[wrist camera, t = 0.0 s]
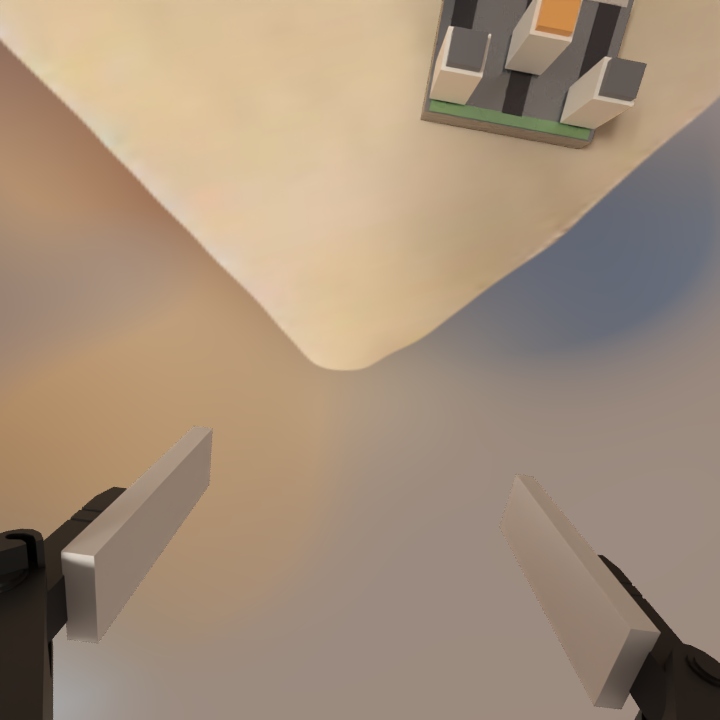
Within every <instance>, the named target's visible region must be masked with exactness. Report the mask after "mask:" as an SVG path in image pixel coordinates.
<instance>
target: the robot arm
mask: <svg viewBox="0 0 720 720" xmlns="http://www.w3.org/2000/svg"><path fill="white" fill-rule="evenodd" d="M211 447H212V428H206V427H199V426H194V427H192V428H191V429H190V430H189V431H188V432H187V433H186V434H185V435H184V436H183V437H182V438H181V439H180V440H179V441H177V442H176V443H175V444H174V445H173V446H172V447H171V448H170V449H169V450H168V451H167V452H166V453H165V454H164V455H163V456H162V457H161V458H160V459H158V460H157V461H156V462H155V463H154V464H153V465H152V466H151V467H150V468H149V469H148V470H147V471H146V472H145V473H144V474H143V475H141V476H140V477H139V478H138V479H137V480H136V481H135V482H134V483H133V484H132V485H131V486H130V487H129V488H128V489H126V488H118V487H113V488H111V489H109V490H107V491H105V492H103V493H101V494H99V495H97V496H95V497H94V498H93V499H92V500H91V501H89V502H88V503H87V504H86V505H85V506H84V507H82V510H79V511H78V512H77V513H75V514H74V515H73V516H72V517H71V519H70V520H67V521H66V522H65V523H64V524H63V525H61V526H60V527H59V528H58V529H57V530H56V531H55V532H53V533H52V534H51V535H50V536H49V537H48V538H46V539H45V540H44V541H43V537H42V535H41V533H40V532H38V531H35V530H33V529H17V530H11V531H6V532H3V533H0V720H53V641H52V639H53V638H54V636H55V635H56V634H57V633H58V632H59V630H60V629H61V628H62V627H63V626H64V624H65V623H66V627H67V639H68V640H75V641H83V642H91V643H99V641H100V640H101V638H102V637H103V636H104V634H105V633H106V631H107V630H108V628H109V627H110V626H111V624H112V623H113V621H114V620H115V619H116V617H117V615H118V614H119V613H120V611H121V610H122V608H123V607H124V606H125V604H126V603H127V601H128V600H129V598H130V597H131V596H132V594H133V593H134V591H135V590H136V589H137V587H138V586H139V584H140V583H141V581H142V580H143V579H144V577H145V576H146V574H147V573H148V571H149V570H150V569H151V567H152V566H153V564H154V563H155V561H156V560H157V559H158V557H159V556H160V554H161V553H162V552H163V550H164V549H165V547H166V546H167V544H168V543H169V542H170V540H171V539H172V537H173V536H174V534H175V533H176V532H177V530H178V529H179V527H180V526H181V524H182V523H183V522H184V520H185V519H186V517H187V516H188V515H189V513H190V511H191V510H192V509H193V507H194V506H195V505H196V503H197V502H198V500H199V499H200V497H201V496H202V495H203V493H204V492H205V490H206V489H207V487H208V486H209V481H210V464H211V463H210V462H211ZM499 527H500V529H501V531H502V533H503V535H504V537H505V539H506V540H507V542H508V544H509V546H510V548H511V550H512V551H513V554H514V556H515V558H516V559H517V561H518V563H519V565H520V567H521V569H522V571H523V573H524V575H525V576H526V578H527V580H528V582H529V584H530V586H531V588H532V590H533V592H534V593H535V595H536V597H537V599H538V601H539V603H540V605H541V607H542V609H543V611H544V612H545V614H546V616H547V618H548V620H549V622H550V624H551V626H552V628H553V629H554V631H555V633H556V635H557V637H558V639H559V641H560V643H561V645H562V647H563V648H564V650H565V652H566V654H567V656H568V658H569V660H570V662H571V664H572V665H573V667H574V669H575V671H576V673H577V675H578V677H579V679H580V681H581V683H582V684H583V686H584V688H585V690H586V692H587V694H588V696H589V698H590V700H591V702H592V703H593V705H594V706H597V707H605V708H613V709H622V707H623V705H624V703H625V701H626V699H627V697H628V695H629V694H630V693H631V696H632V697H633V699H634V700H635V702H636V703H637V705H638V707H639V708H640V710H639V712H638V714H637V716H636V718H635V720H720V663H718V661H716V660H715V659H714V658H712V657H711V656H709V655H708V654H706V653H705V652H703V651H701V650H699V649H697V648H695V647H693V646H691V645H687V644H683V643H682V641H680V639H679V638H678V637H677V636H676V634H675V633H674V632H673V631H672V630H671V629H670V628H669V626H668V625H667V624H666V623H665V622H664V620H663V619H662V618H661V617H660V616H659V615H658V613H657V612H656V611H655V610H654V609H653V607H652V606H651V605H650V604H649V603H648V602H647V601H646V599H643V598H642V595H641V593H640V592H639V591H638V590H637V589H636V588H635V586H632V583H631V582H630V581H629V579H628V578H627V577H626V576H625V575H624V573H623V572H622V571H621V570H620V569H619V568H618V567H617V566H615V565H614V564H613V563H612V562H610V561H609V560H608V559H607V558H606V557H604V556H603V555H597V554H596V553H595V552H594V550H593V549H592V548H591V547H590V546H589V544H588V543H587V542H586V541H585V539H584V538H583V537H582V536H581V534H580V533H579V532H578V531H577V530H576V528H575V527H574V526H573V525H572V524H571V522H570V521H569V520H568V519H567V517H566V516H565V515H564V514H563V512H562V511H561V510H560V509H559V508H558V506H557V505H556V504H555V503H554V502H553V501H552V499H551V498H550V497H549V495H548V494H547V493H546V492H545V490H543V488H542V487H541V485H540V484H539V483H538V482H537V481H536V479H534V477H532V476H526V475H519V474H516V476H515V479H514V482H513V485H512V489H511V492H510V495H509V498H508V501H507V504H506V507H505V510H504V514H503V517H502V520H501V523H500V526H499Z"/></svg>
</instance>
